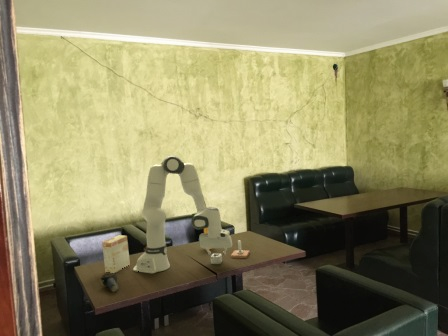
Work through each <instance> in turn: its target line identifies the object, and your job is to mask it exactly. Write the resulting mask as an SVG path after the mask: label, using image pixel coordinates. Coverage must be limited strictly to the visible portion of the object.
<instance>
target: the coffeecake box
mask: <svg viewBox="0 0 448 336" xmlns="http://www.w3.org/2000/svg"><path fill="white" fill-rule="evenodd" d="M101 245H102V252H103V253H102V254H103V260H104V269H105V270H104V271H105V273H106V272H110V273H109V274H112V273H115V272H116V273H117V272H120V271H122V270H123V269H125V268H127V267H129V266H131V264H130V263H131V262H130V261H131V260H130V253H129V243H128V235H122V234H119V235H116V236H112V237H111V238H108V239H106V240H104V241H102V242H101ZM128 265H129V266H128ZM126 266H127V267H126ZM124 267H125V268H124ZM122 268H123V269H122Z"/></svg>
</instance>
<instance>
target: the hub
mask: <svg viewBox="0 0 448 336" xmlns="http://www.w3.org/2000/svg"><path fill="white" fill-rule="evenodd" d="M222 256H223V253H211V255H210V264H211V265H220V264H221V263H222V262H223V257H222Z"/></svg>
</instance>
